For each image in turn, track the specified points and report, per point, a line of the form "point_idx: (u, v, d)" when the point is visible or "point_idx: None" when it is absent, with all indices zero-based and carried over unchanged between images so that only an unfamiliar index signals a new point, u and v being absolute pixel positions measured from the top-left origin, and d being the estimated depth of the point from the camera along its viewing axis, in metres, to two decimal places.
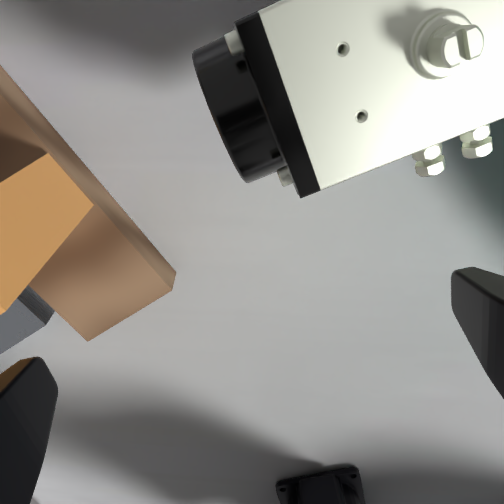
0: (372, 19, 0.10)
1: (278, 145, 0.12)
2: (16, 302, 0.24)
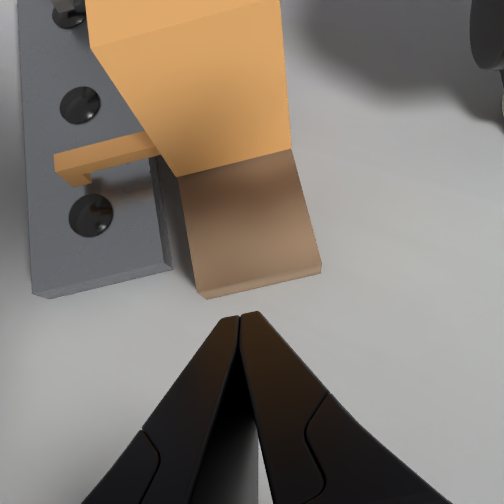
0: None
1: None
2: (154, 226, 0.22)
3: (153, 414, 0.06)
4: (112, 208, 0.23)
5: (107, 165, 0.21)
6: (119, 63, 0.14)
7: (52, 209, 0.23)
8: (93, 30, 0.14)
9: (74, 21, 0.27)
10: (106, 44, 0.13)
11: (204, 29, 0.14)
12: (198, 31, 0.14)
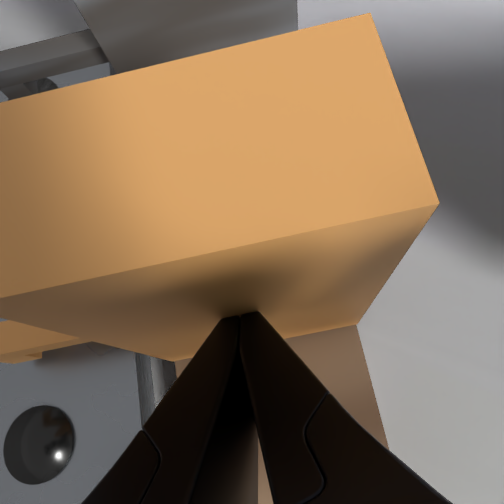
0: None
1: None
2: None
3: (153, 414, 0.06)
4: (73, 435, 0.14)
5: (63, 345, 0.13)
6: (40, 310, 0.06)
7: None
8: None
9: None
10: (0, 294, 0.05)
11: (241, 258, 0.06)
12: (225, 261, 0.06)
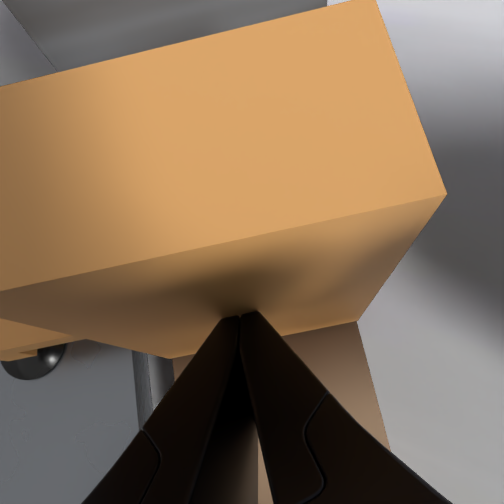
0: None
1: None
2: None
3: (153, 414, 0.06)
4: None
5: (58, 343, 0.13)
6: (28, 308, 0.06)
7: None
8: None
9: None
10: None
11: (238, 252, 0.05)
12: (222, 256, 0.05)
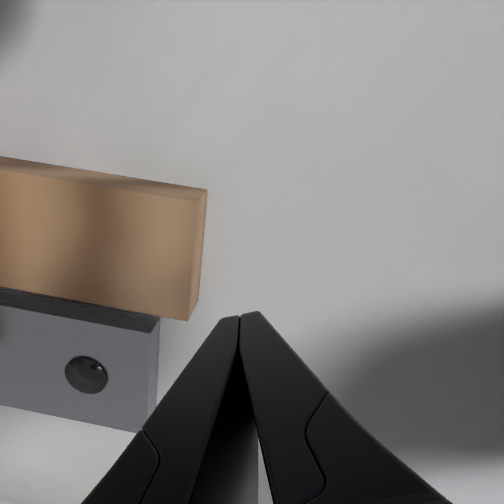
0: None
1: None
2: (112, 330, 0.22)
3: (153, 414, 0.06)
4: (84, 357, 0.23)
5: None
6: None
7: (72, 401, 0.25)
8: None
9: None
10: None
11: None
12: None
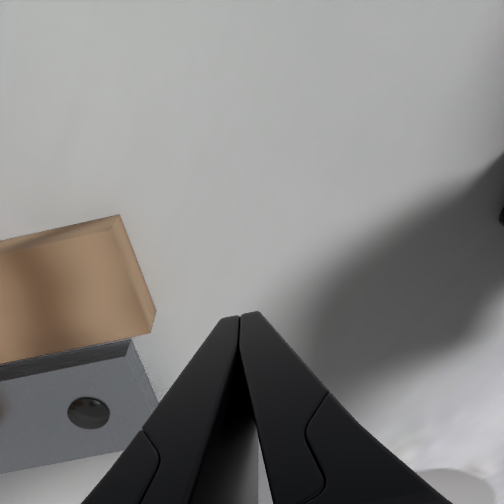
0: None
1: None
2: (92, 366, 0.24)
3: (153, 414, 0.06)
4: (79, 399, 0.25)
5: None
6: None
7: (87, 440, 0.27)
8: None
9: None
10: None
11: None
12: None
